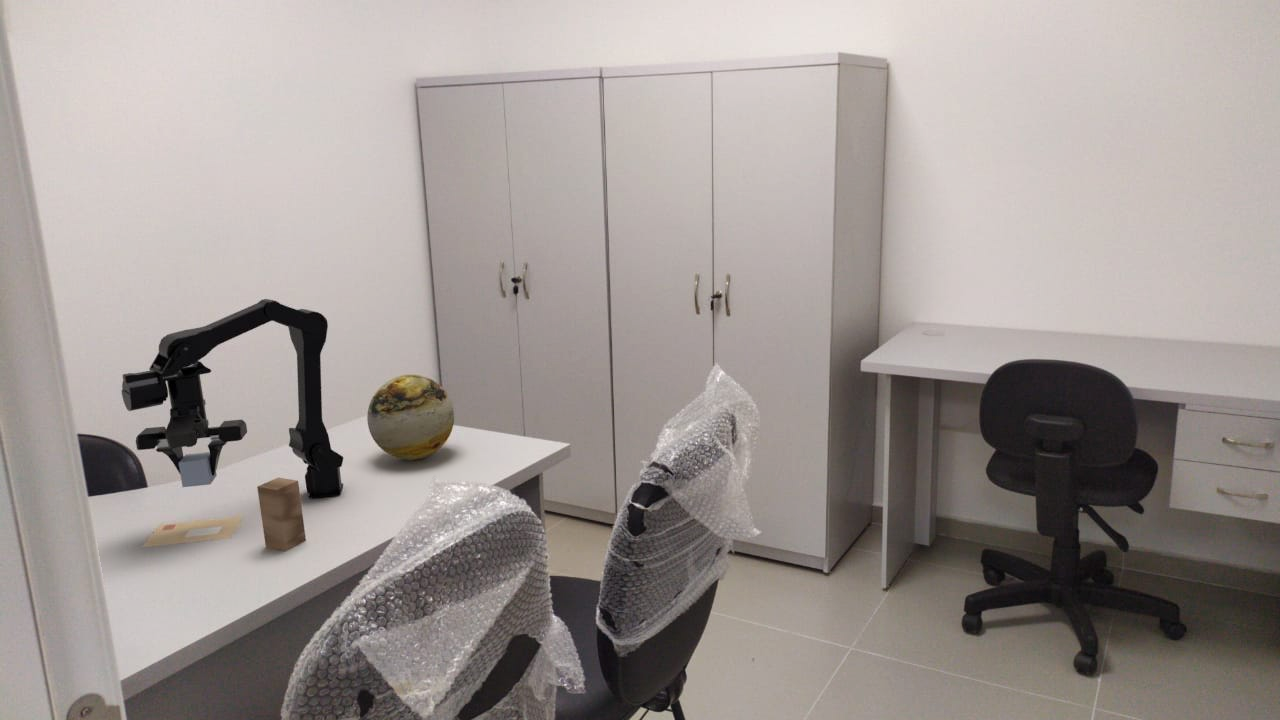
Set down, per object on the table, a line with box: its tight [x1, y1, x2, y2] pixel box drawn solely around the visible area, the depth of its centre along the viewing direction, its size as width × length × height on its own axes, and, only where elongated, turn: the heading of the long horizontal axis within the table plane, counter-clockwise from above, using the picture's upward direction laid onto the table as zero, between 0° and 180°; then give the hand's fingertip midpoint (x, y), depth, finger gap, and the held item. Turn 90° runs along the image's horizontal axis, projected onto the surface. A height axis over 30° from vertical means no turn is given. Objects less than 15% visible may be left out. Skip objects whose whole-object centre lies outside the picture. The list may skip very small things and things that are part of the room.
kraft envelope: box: [141, 515, 244, 548], centre depth 180 cm, size 16×11×1 cm
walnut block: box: [256, 476, 307, 552], centre depth 171 cm, size 5×5×12 cm
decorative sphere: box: [367, 374, 455, 461], centre depth 216 cm, size 20×20×20 cm
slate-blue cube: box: [179, 451, 217, 488], centre depth 179 cm, size 5×5×5 cm
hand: (199, 476), depth 179 cm, fingers closed on slate-blue cube, 5 cm apart
